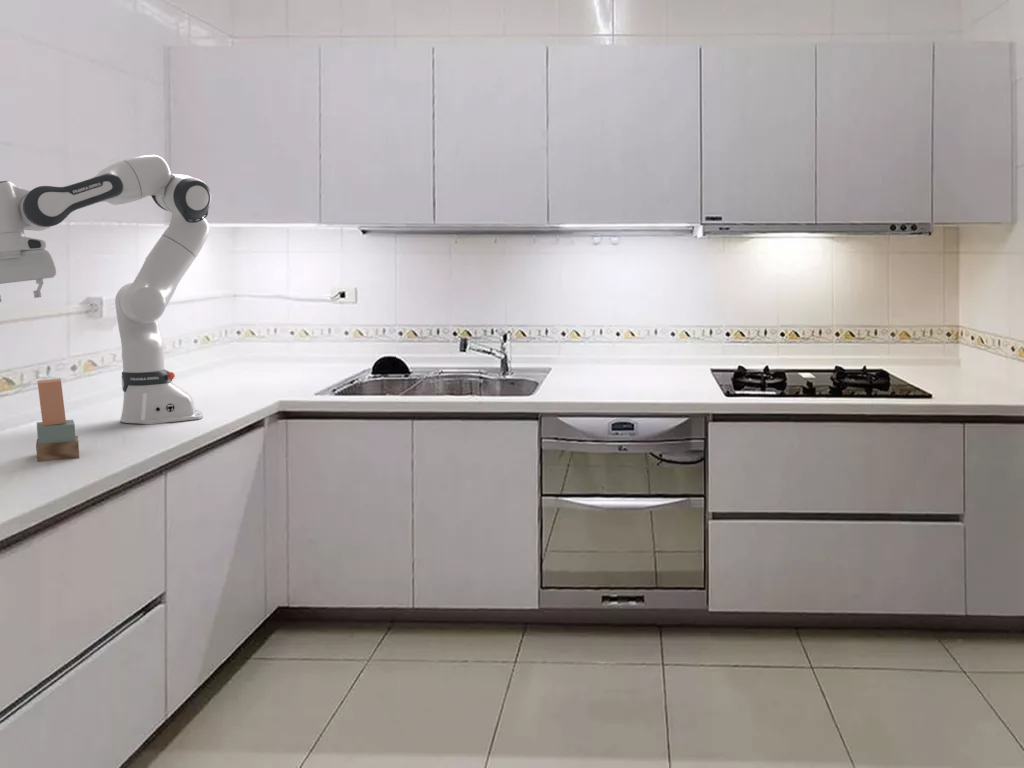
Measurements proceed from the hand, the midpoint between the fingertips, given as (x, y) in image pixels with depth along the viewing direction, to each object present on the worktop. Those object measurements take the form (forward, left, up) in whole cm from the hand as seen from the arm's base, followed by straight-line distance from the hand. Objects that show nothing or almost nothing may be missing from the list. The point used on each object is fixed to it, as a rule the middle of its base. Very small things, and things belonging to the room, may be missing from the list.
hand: (18, 299), depth 270 cm
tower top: (-7, +31, -32) cm, 45 cm away
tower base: (-7, +31, -36) cm, 48 cm away
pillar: (-6, +31, -28) cm, 42 cm away
